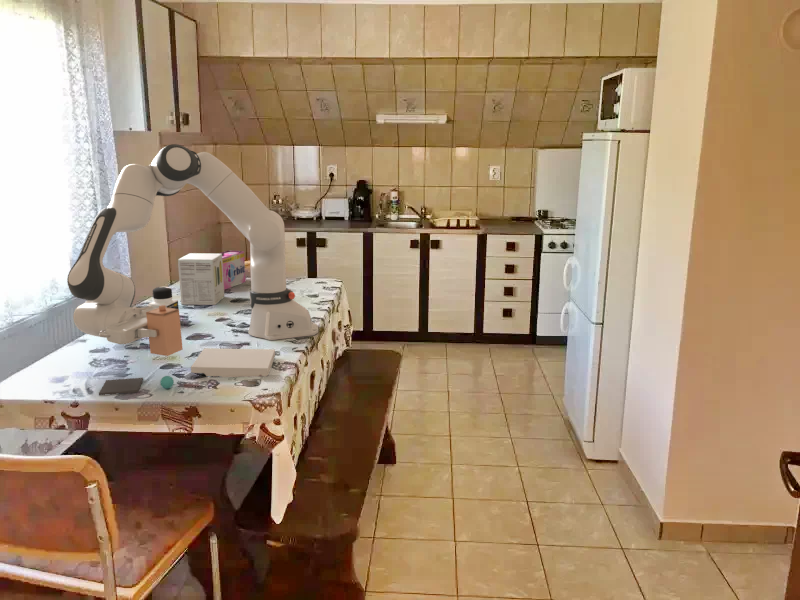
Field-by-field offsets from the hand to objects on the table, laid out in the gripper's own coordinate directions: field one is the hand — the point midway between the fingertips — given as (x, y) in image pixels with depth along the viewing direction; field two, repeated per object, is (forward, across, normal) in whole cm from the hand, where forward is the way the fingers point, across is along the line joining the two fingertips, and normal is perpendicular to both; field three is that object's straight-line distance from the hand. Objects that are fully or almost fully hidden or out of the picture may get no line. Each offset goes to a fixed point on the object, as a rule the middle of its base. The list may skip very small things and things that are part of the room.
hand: (167, 329), depth 169 cm
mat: (-8, -9, +14) cm, 18 cm away
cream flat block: (+9, +15, +15) cm, 23 cm away
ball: (+3, -5, +14) cm, 15 cm away
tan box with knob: (-1, 0, +6) cm, 6 cm away
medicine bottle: (-40, +42, +14) cm, 60 cm away
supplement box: (-48, +71, +14) cm, 87 cm away
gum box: (-56, +94, +14) cm, 111 cm away
